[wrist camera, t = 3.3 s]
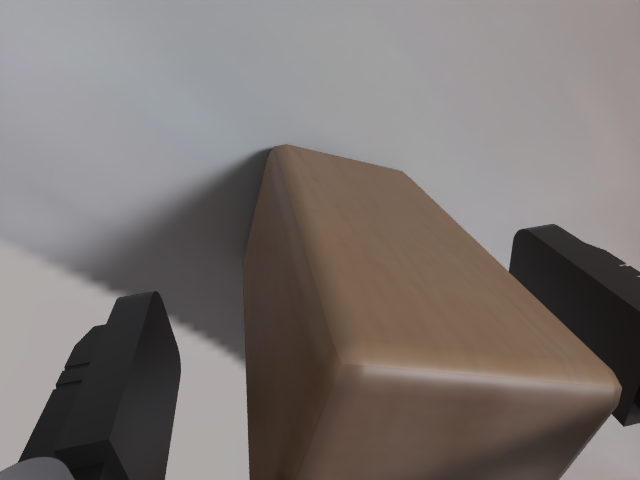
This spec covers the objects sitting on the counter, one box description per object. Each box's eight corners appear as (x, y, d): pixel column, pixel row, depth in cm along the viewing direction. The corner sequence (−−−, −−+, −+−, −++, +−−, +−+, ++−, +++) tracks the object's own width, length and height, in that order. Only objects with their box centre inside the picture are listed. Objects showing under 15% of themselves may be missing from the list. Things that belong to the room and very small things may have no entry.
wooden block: (239, 268, 12) (246, 591, 6) (270, 136, 11) (334, 361, 4) (364, 286, 14) (500, 574, 7) (409, 169, 12) (653, 389, 5)
